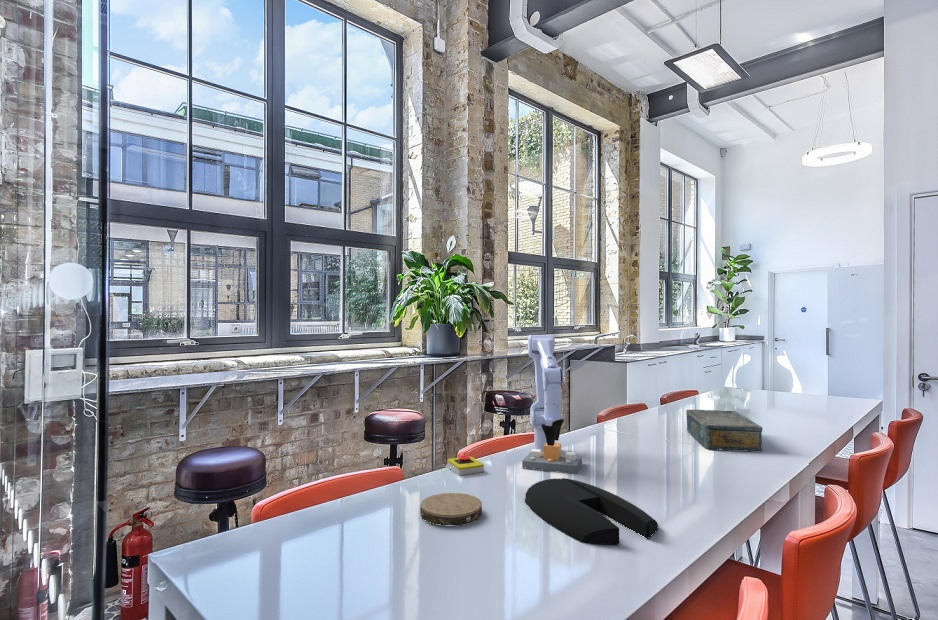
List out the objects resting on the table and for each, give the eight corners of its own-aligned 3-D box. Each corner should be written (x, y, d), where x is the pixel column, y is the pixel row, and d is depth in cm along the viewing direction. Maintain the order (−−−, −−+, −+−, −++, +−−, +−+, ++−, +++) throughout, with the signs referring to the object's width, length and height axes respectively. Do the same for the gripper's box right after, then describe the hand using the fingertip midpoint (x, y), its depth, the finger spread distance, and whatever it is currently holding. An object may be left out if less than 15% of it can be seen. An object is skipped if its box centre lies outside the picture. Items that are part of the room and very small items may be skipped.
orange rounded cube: (546, 455, 181) (546, 442, 181) (561, 456, 179) (561, 443, 179) (543, 458, 176) (543, 445, 176) (558, 460, 174) (558, 446, 174)
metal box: (736, 433, 224) (736, 410, 224) (764, 453, 192) (764, 426, 192) (684, 431, 228) (684, 409, 228) (703, 450, 196) (703, 424, 196)
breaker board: (531, 458, 185) (530, 446, 185) (582, 463, 179) (581, 450, 179) (522, 468, 174) (522, 454, 174) (576, 473, 168) (576, 459, 168)
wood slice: (408, 513, 135) (408, 502, 135) (455, 499, 146) (455, 488, 146) (445, 533, 123) (445, 520, 123) (494, 516, 134) (494, 504, 134)
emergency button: (469, 451, 181) (488, 462, 168) (469, 464, 181) (488, 476, 168) (444, 454, 178) (461, 466, 164) (444, 467, 178) (461, 479, 164)
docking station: (578, 483, 159) (578, 467, 159) (676, 535, 122) (676, 513, 122) (505, 494, 150) (505, 477, 150) (587, 554, 112) (587, 531, 112)
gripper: (545, 399, 186) (546, 437, 186) (536, 405, 172) (536, 446, 172) (565, 400, 183) (565, 438, 183) (557, 407, 170) (557, 448, 170)
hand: (553, 442), depth 178 cm, fingers open, 7 cm apart
